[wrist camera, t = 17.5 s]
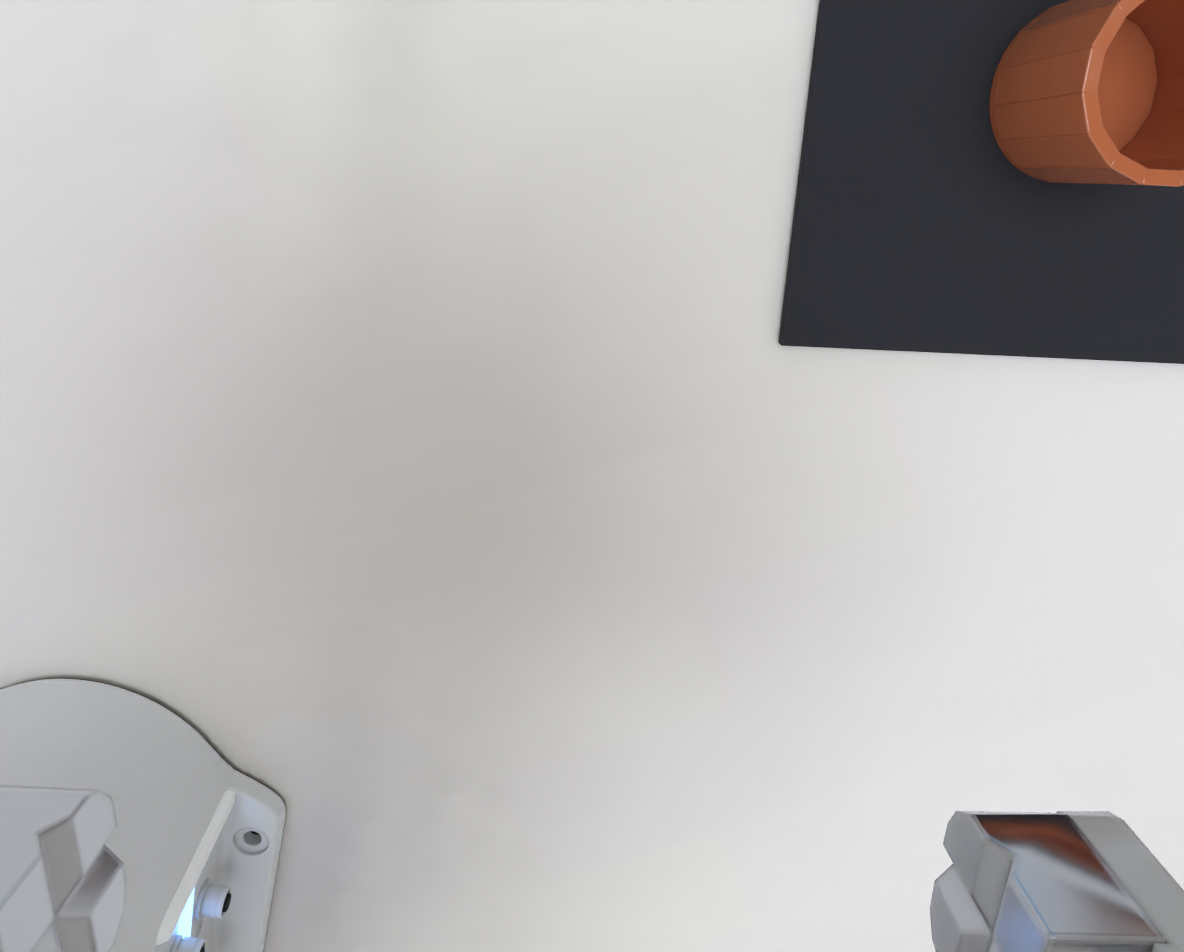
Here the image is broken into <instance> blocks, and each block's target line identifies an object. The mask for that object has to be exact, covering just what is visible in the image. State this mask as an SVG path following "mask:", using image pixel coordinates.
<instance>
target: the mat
mask: <svg viewBox="0 0 1184 952" xmlns="http://www.w3.org/2000/svg"><path fill="white" fill-rule="evenodd" d="M1065 1H1068V0H820V3H819V11H818V20H817V28H816V36H815V45H814V53H813V61H812V70H811V78H810V86H809V95H808V103H807V111H806V120H805V128H804V136H803V145H802V153H801V161H800V170H799V178H798V186H797V194H796V203H795V211H794V219H793V228H792V236H791V244H790V253H789V261H788V269H787V278H786V286H785V294H784V303H783V311H782V319H781V328H780V336H779V343H780V344H781V345H786V346H808V347H830V348H852V349H873V350H895V351H917V352H939V353H961V354H983V355H1005V356H1026V357H1048V358H1070V359H1092V360H1114V361H1136V362H1158V363H1179V364H1184V186H1179V187H1164V186H1130V185H1096V184H1069V183H1051V182H1045V181H1041V180H1038V179H1035V178H1032V177H1030V176H1028V175H1026V174H1024V173H1023V172H1021V171H1020V170H1018V169H1017V168H1016V167H1015V166H1014V165H1013V164H1011V163H1010V162H1009V160H1008V159H1007V158H1006V157H1005V155H1004V154H1003V153H1002V151H1001V149H1000V147H999V146H998V144H997V141H996V139H995V136H994V134H993V130H992V126H991V120H990V93H991V86H992V82H993V78H994V75H995V72H996V69H997V67H998V64H999V62H1000V60H1001V58H1002V56H1003V54H1004V52H1005V50H1006V49H1007V47H1008V46H1009V44H1010V43H1011V41H1012V40H1013V39H1014V37H1015V36H1016V35H1017V34H1018V33H1019V31H1020V30H1021V29H1022V28H1023V27H1024V26H1025V25H1026V24H1027V23H1028V22H1030V21H1031V20H1032V19H1033V18H1035V17H1036V16H1037V15H1039V14H1040V13H1042V12H1043V11H1045V10H1047V9H1048V8H1050V7H1053V6H1055V5H1057V4H1059V3H1062V2H1065Z"/></svg>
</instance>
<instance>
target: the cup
mask: <svg viewBox="0 0 1184 952" xmlns="http://www.w3.org/2000/svg"><path fill="white" fill-rule="evenodd" d="M990 120H991V126H992V130H993V134H994V136H995V139H996V141H997V144H998V146H999V147H1000V149H1001V151H1002V153H1003V154H1004V155H1005V157H1006V158H1007V159H1008V160H1009V162H1010V163H1011V164H1013V165H1014V166H1015V167H1016V168H1017V169H1018V170H1020V171H1021V172H1023V173H1024V174H1026V175H1028V176H1030V177H1032V178H1035V179H1038V180H1041V181H1045V182H1051V183H1069V184H1096V185H1130V186H1164V187H1179V186H1184V0H1068V1H1065V2H1062V3H1059V4H1057V5H1055V6H1053V7H1050V8H1048V9H1047V10H1045V11H1043V12H1042V13H1040V14H1039V15H1037V16H1036V17H1035V18H1033V19H1032V20H1031V21H1030V22H1028V23H1027V24H1026V25H1025V26H1024V27H1023V28H1022V29H1021V30H1020V31H1019V33H1018V34H1017V35H1016V36H1015V37H1014V39H1013V40H1012V41H1011V43H1010V44H1009V46H1008V47H1007V49H1006V50H1005V52H1004V54H1003V56H1002V58H1001V60H1000V62H999V64H998V67H997V69H996V72H995V75H994V78H993V82H992V86H991V93H990Z"/></svg>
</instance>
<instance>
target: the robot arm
mask: <svg viewBox="0 0 1184 952" xmlns="http://www.w3.org/2000/svg"><path fill="white" fill-rule="evenodd" d="M285 817H286V807H285V804H284V802H283V800H282V799H281V798H280V797H279V796H278V795H277V794H276V793H275V792H273V791H272V790H271V789H269V788H268V787H266V786H264V785H263V784H261V783H259V782H257V781H255V780H254V779H252V778H250V777H248V776H246V775H244V774H242V773H240V772H238V771H236V770H234V769H233V768H232V767H231V766H230V765H229V764H227V763H226V762H225V761H224V760H223V759H222V758H221V757H220V756H219V754H218V753H217V752H216V751H215V750H214V749H213V748H212V747H211V745H210V744H209V743H208V742H207V741H206V740H205V739H204V738H203V737H202V736H201V735H200V734H199V733H198V732H197V731H196V730H195V729H194V728H193V727H191V726H190V725H189V724H188V723H187V722H185V721H184V720H183V719H181V718H180V717H179V716H177V715H176V714H174V713H173V712H171V711H170V710H168V709H167V708H165V707H163V706H161V705H160V704H158V703H156V702H154V701H152V700H150V699H148V698H146V697H143V696H141V695H139V694H137V693H134V692H131V691H128V690H126V689H122V688H119V687H116V686H112V685H108V684H104V683H99V682H94V681H87V680H79V679H43V680H36V681H29V682H24V683H20V684H16V685H12V686H9V687H6V688H4V689H1V690H0V952H263V950H264V944H265V938H266V932H267V926H268V920H269V914H270V908H271V902H272V896H273V890H274V884H275V878H276V872H277V866H278V860H279V854H280V848H281V842H282V836H283V830H284V824H285ZM250 831H254V832H257V833H258V834H259V835H255V834H253V833H251V832H250ZM943 845H944V847H945V849H946V851H947V853H948V854H949V856H950V858H951V860H952V862H953V864H952V865H951V866H950V867H949V868H948V869H947V870H946V871H945V872H943V873H942V874H941V875H940V876H939V877H938V878H937V879H936V880H935V883H934V888H933V894H932V899H931V905H930V916H931V929H932V939H933V943H934V947H935V950H936V952H1184V890H1183V889H1182V888H1181V887H1180V886H1179V885H1178V883H1177V882H1176V881H1175V880H1174V879H1173V878H1172V876H1171V875H1170V874H1169V873H1168V872H1167V871H1166V869H1165V868H1164V867H1163V866H1162V865H1161V864H1160V862H1159V861H1158V860H1157V859H1156V858H1155V856H1154V855H1153V854H1152V853H1151V852H1150V851H1149V849H1148V848H1147V847H1146V846H1145V845H1144V844H1143V842H1142V841H1141V840H1140V839H1139V838H1138V837H1137V835H1136V834H1135V833H1134V832H1133V831H1132V830H1131V828H1130V827H1129V826H1128V825H1127V824H1126V823H1125V821H1124V820H1122V819H1121V818H1119V817H1117V816H1116V815H1114V814H1112V813H1110V812H1108V811H1058V812H1056V813H1040V812H985V811H956V812H955V813H954V815H953V816H952V818H951V819H950V821H949V822H948V825H947V829H946V833H945V837H944V842H943Z"/></svg>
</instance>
